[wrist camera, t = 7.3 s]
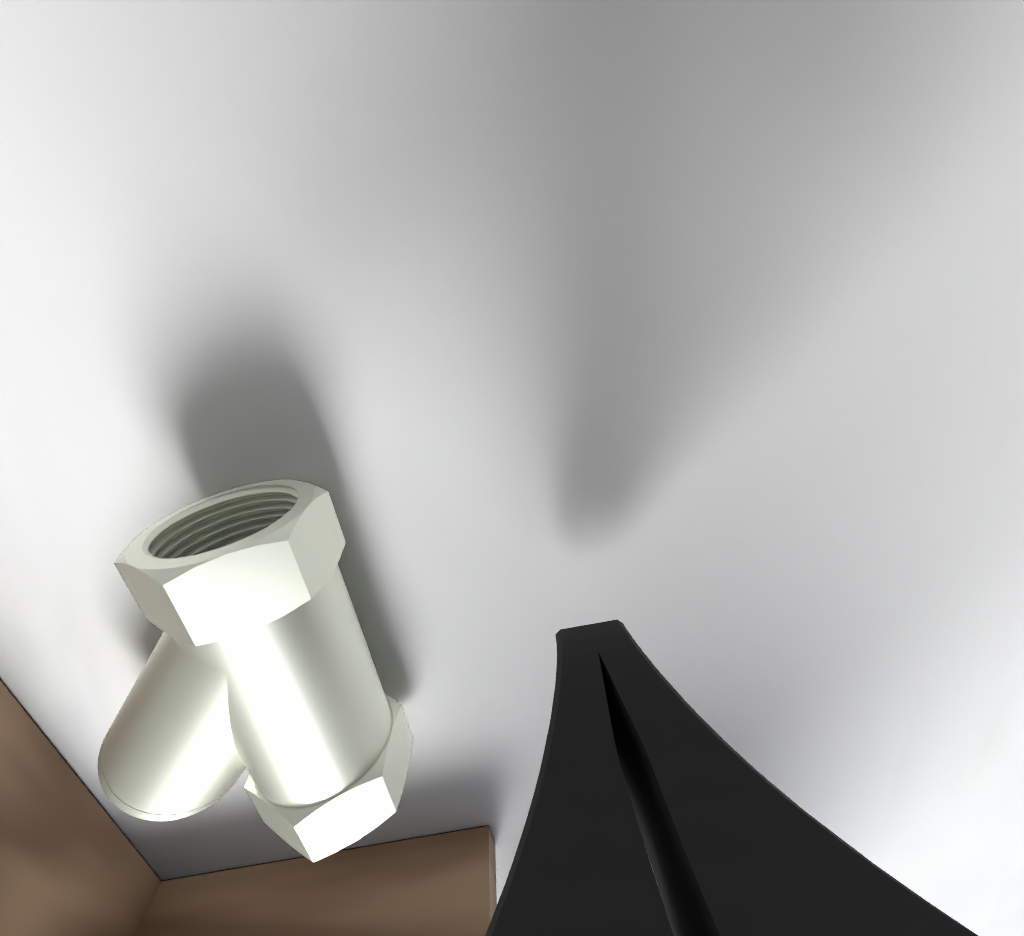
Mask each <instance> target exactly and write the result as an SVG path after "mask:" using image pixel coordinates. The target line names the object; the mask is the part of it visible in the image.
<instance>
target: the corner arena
mask: <svg viewBox="0 0 1024 936" xmlns="http://www.w3.org/2000/svg"><path fill="white" fill-rule="evenodd" d="M496 907H497V902H496V860H495V845H494V841H493V838H492V835H491V832H490V828H489V826H485V827H479V828H473V829H468V830H462V831H456V832H450V833H444V834H438V835H432V836H426V837H420V838H415V839H409V840H403V841H397V842H391V843H385V844H379V845H373V846H367V847H362V848H356V849H350V850H344V851H338V852H336V853H334V854H331V855H329V856H327V857H325V858H322V859H320V860H318V861H316V862H312V861H310V860H309V859H307V858H306V857H303V858H297V859H291V860H285V861H279V862H273V863H267V864H261V865H256V866H250V867H244V868H238V869H232V870H226V871H220V872H214V873H208V874H203V875H197V876H191V877H185V878H179V879H173V880H167V881H160V879H159V878H158V877H157V876H156V874H155V873H154V872H153V871H152V869H151V868H150V867H149V866H148V864H147V863H146V862H145V861H144V859H143V858H142V857H141V856H140V854H139V853H138V852H137V851H136V849H135V848H134V847H133V846H132V844H131V843H130V842H129V841H128V839H127V838H126V837H125V836H124V834H123V833H122V832H121V831H120V829H119V828H118V827H117V826H116V824H115V823H114V822H113V821H112V819H111V818H110V817H109V816H108V814H107V813H106V812H105V811H104V809H103V808H102V807H101V806H100V804H99V803H98V802H97V801H96V799H95V798H94V797H93V796H92V794H91V793H90V792H89V791H88V789H87V788H86V787H85V786H84V784H83V783H82V782H81V781H80V779H79V778H78V777H77V776H76V774H75V773H74V772H73V771H72V769H71V768H70V767H69V766H68V764H67V763H66V762H65V761H64V759H63V758H62V757H61V756H60V754H59V753H58V752H57V751H56V749H55V748H54V747H53V746H52V744H51V743H50V742H49V741H48V739H47V738H46V737H45V736H44V734H43V733H42V732H41V731H40V729H39V728H38V727H37V726H36V724H35V723H34V722H33V721H32V719H31V718H30V717H29V716H28V714H27V713H26V712H25V711H24V709H23V708H22V707H21V706H20V704H19V703H18V702H17V701H16V699H15V698H14V697H13V696H12V694H11V693H10V692H9V691H8V689H7V688H6V687H5V686H4V684H3V683H2V682H1V681H0V936H485V935H486V932H487V930H488V927H489V924H490V922H491V919H492V917H493V914H494V912H495V909H496Z"/></svg>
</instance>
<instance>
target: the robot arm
mask: <svg viewBox="0 0 1024 936" xmlns="http://www.w3.org/2000/svg"><path fill="white" fill-rule="evenodd" d="M556 642H557V672H556V684H555V692H554V699H553V706H552V714H551V720H550V726H549V731H548V735H547V740H546V745H545V750H544V755H543V760H542V764H541V768H540V772H539V776H538V780H537V784H536V788H535V792H534V796H533V799H532V803H531V806H530V810H529V813H528V817H527V820H526V823H525V826H524V829H523V833H522V836H521V839H520V842H519V845H518V848H517V851H516V854H515V857H514V860H513V863H512V866H511V869H510V872H509V875H508V878H507V880H506V883H505V886H504V889H503V891H502V894H501V896H500V899H499V902H498V904H497V907H496V909H495V912H494V914H493V917H492V919H491V922H490V924H489V927H488V930H487V932H486V935H485V936H978V935H976V934H975V933H973V932H972V931H970V930H969V929H967V928H966V927H964V926H963V925H961V924H960V923H958V922H957V921H955V920H954V919H952V918H951V917H949V916H948V915H947V914H945V913H944V912H942V911H941V910H939V909H938V908H936V907H935V906H933V905H932V904H930V903H929V902H927V901H926V900H924V899H923V898H921V897H920V896H919V895H917V894H916V893H914V892H913V891H912V890H910V889H909V888H907V887H906V886H904V885H903V884H902V883H900V882H899V881H897V880H896V879H895V878H893V877H892V876H890V875H889V874H888V873H886V872H885V871H883V870H882V869H880V868H879V867H878V866H876V865H875V864H873V863H872V862H871V861H869V860H868V859H867V858H865V857H864V856H863V855H862V854H860V853H859V852H858V851H856V850H855V849H854V848H852V847H851V846H850V845H848V844H847V843H846V842H845V841H843V840H842V839H841V838H839V837H838V836H837V835H835V834H834V833H833V832H831V831H830V830H829V829H828V828H826V827H825V826H824V825H822V824H821V823H820V822H818V821H817V820H816V819H814V818H813V817H812V816H811V815H809V814H808V813H807V812H805V811H804V810H803V809H802V808H800V807H799V806H798V805H797V804H796V803H794V802H793V801H792V800H791V799H790V798H788V797H787V796H786V795H785V794H784V793H782V792H781V791H780V790H779V789H778V788H776V787H775V786H774V785H773V784H772V783H770V782H769V781H768V780H767V779H766V778H765V777H764V776H763V775H761V774H760V773H759V772H758V771H757V770H756V769H755V768H753V767H752V766H751V765H750V764H749V763H748V762H747V761H746V760H744V759H743V758H742V757H741V756H740V755H739V754H738V753H737V752H736V751H735V750H734V749H733V748H732V747H730V746H729V745H728V744H727V743H726V742H725V741H724V740H723V739H722V738H721V737H720V736H719V735H718V734H717V733H716V732H715V731H714V730H713V729H712V728H711V727H710V726H709V725H708V724H707V723H706V722H705V721H704V720H703V719H702V718H701V717H700V716H699V715H698V714H697V713H696V712H695V711H694V710H693V709H692V708H691V706H690V705H689V704H688V703H687V702H686V701H685V700H684V699H683V698H682V697H681V696H680V695H679V693H678V692H677V691H676V690H675V689H674V688H673V687H672V686H671V684H670V683H669V682H668V681H667V680H666V679H665V678H664V677H663V675H662V674H661V673H660V672H659V671H658V670H657V668H656V667H655V666H654V665H653V664H652V662H651V661H650V660H649V659H648V657H647V656H646V655H645V654H644V652H643V651H642V650H641V648H640V647H639V646H638V645H637V643H636V642H635V640H634V639H633V638H632V636H631V635H630V633H629V632H628V631H627V629H626V628H625V626H624V624H623V623H622V622H620V621H618V620H612V621H607V622H601V623H595V624H590V625H584V626H578V627H572V628H567V629H561V630H559V632H558V633H557V634H556ZM645 847H646V848H645ZM646 850H647V851H646ZM647 853H648V854H647ZM648 856H649V857H648ZM649 859H650V860H649ZM650 862H651V864H650ZM651 865H652V867H651ZM652 868H653V870H652ZM653 871H654V873H653ZM654 874H655V876H654ZM655 878H656V879H655ZM656 881H657V883H656ZM657 884H658V886H657ZM658 887H659V889H658ZM659 890H660V892H659ZM660 894H661V895H660ZM661 897H662V898H661Z"/></svg>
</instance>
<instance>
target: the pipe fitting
mask: <svg viewBox="0 0 1024 936" xmlns="http://www.w3.org/2000/svg"><path fill="white" fill-rule="evenodd" d="M345 543H346V541H345V539H344V536H343V533H342V530H341V527H340V524H339V521H338V518H337V515H336V513H335V510H334V507H333V504H332V501H331V498H330V495H329V492H328V491H326V490H324V489H322V488H320V487H318V486H315V485H313V484H310V483H306V482H303V481H299V480H272V481H264V482H258V483H253V484H248V485H244V486H240V487H236V488H233V489H230V490H226V491H223V492H220V493H217V494H214V495H212V496H209V497H206V498H204V499H201V500H199V501H196V502H194V503H192V504H189V505H187V506H185V507H183V508H181V509H179V510H177V511H175V512H173V513H171V514H169V515H167V516H166V517H164V518H162V519H160V520H159V521H157V522H156V523H154V524H153V525H151V526H150V527H148V528H147V529H146V530H144V531H143V532H142V533H141V534H139V535H138V536H137V537H136V538H135V539H134V540H133V541H132V542H131V543H130V544H129V545H128V546H127V547H126V548H125V549H124V551H123V552H122V553H121V554H120V555H119V557H118V558H117V559H116V560H115V562H114V564H115V566H116V568H117V569H118V571H119V573H120V575H121V576H122V578H123V580H124V582H125V583H126V585H127V587H128V588H129V590H130V592H131V594H132V595H133V597H134V599H135V601H136V602H137V604H138V606H139V607H140V609H141V611H142V613H143V614H144V616H145V618H146V619H148V620H149V621H150V622H151V623H153V624H154V625H155V626H157V627H158V628H159V629H160V630H162V631H164V632H163V633H162V635H161V637H160V639H159V641H158V642H157V644H156V646H155V648H154V650H153V651H152V653H151V655H150V657H149V659H148V660H147V662H146V664H145V666H144V668H143V669H142V671H141V673H140V675H139V677H138V678H137V680H136V682H135V684H134V686H133V687H132V689H131V691H130V693H129V695H128V696H127V698H126V700H125V702H124V704H123V706H122V707H121V709H120V711H119V713H118V715H117V716H116V718H115V720H114V722H113V724H112V725H111V727H110V729H109V731H108V733H107V734H106V736H105V738H104V740H103V743H102V745H101V748H100V752H99V757H98V775H99V780H100V784H101V786H102V789H103V791H104V792H105V794H106V796H107V797H108V799H109V800H110V801H111V802H112V803H113V804H114V805H115V806H116V807H117V808H118V809H120V810H121V811H123V812H125V813H126V814H128V815H131V816H133V817H136V818H139V819H143V820H148V821H172V820H178V819H182V818H185V817H188V816H191V815H194V814H196V813H198V812H200V811H202V810H204V809H206V808H208V807H209V806H211V805H212V804H214V803H215V802H216V801H218V800H219V799H220V798H221V797H222V796H224V795H225V794H226V793H227V792H228V790H229V789H230V788H231V787H232V786H233V784H234V783H235V782H236V781H237V779H238V778H239V777H240V775H241V774H242V773H243V771H244V770H245V769H246V768H247V770H248V772H249V775H248V778H247V781H246V783H245V786H244V789H245V791H246V792H247V794H248V796H249V797H250V799H251V801H252V803H253V804H254V806H255V808H256V810H257V811H258V813H259V815H260V816H261V818H262V820H263V822H264V823H265V824H267V825H268V826H269V827H270V828H271V829H272V830H273V831H274V832H275V833H276V834H277V835H278V836H280V837H281V838H282V839H283V840H284V841H285V842H286V843H288V844H289V845H290V846H291V847H293V848H294V849H295V850H296V851H298V852H299V853H300V854H302V855H303V856H304V857H306V858H307V859H309V860H310V861H312V862H316V861H318V860H320V859H322V858H325V857H327V856H329V855H331V854H334V853H336V852H338V851H339V850H341V849H343V848H345V847H347V846H349V845H350V844H352V843H354V842H356V841H358V840H359V839H361V838H362V837H364V836H365V835H366V834H368V833H369V832H371V831H372V830H374V829H375V828H377V827H378V826H379V825H381V824H382V823H383V822H384V821H386V820H387V819H388V818H389V817H391V816H392V815H393V814H394V813H395V812H396V811H397V808H398V805H399V802H400V799H401V796H402V793H403V789H404V785H405V781H406V777H407V773H408V768H409V763H410V757H411V751H412V744H413V736H412V733H411V730H410V727H409V724H408V721H407V718H406V715H405V712H404V709H403V707H402V704H400V703H399V702H397V701H396V700H394V699H393V698H391V697H389V696H388V695H386V694H385V693H384V691H383V688H382V685H381V682H380V680H379V677H378V674H377V671H376V668H375V666H374V663H373V660H372V657H371V654H370V652H369V649H368V646H367V643H366V640H365V638H364V635H363V632H362V629H361V627H360V624H359V621H358V618H357V616H356V613H355V610H354V607H353V605H352V602H351V599H350V596H349V593H348V591H347V588H346V585H345V582H344V580H343V577H342V574H341V571H340V569H339V566H338V562H339V560H340V557H341V554H342V552H343V549H344V546H345Z"/></svg>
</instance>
